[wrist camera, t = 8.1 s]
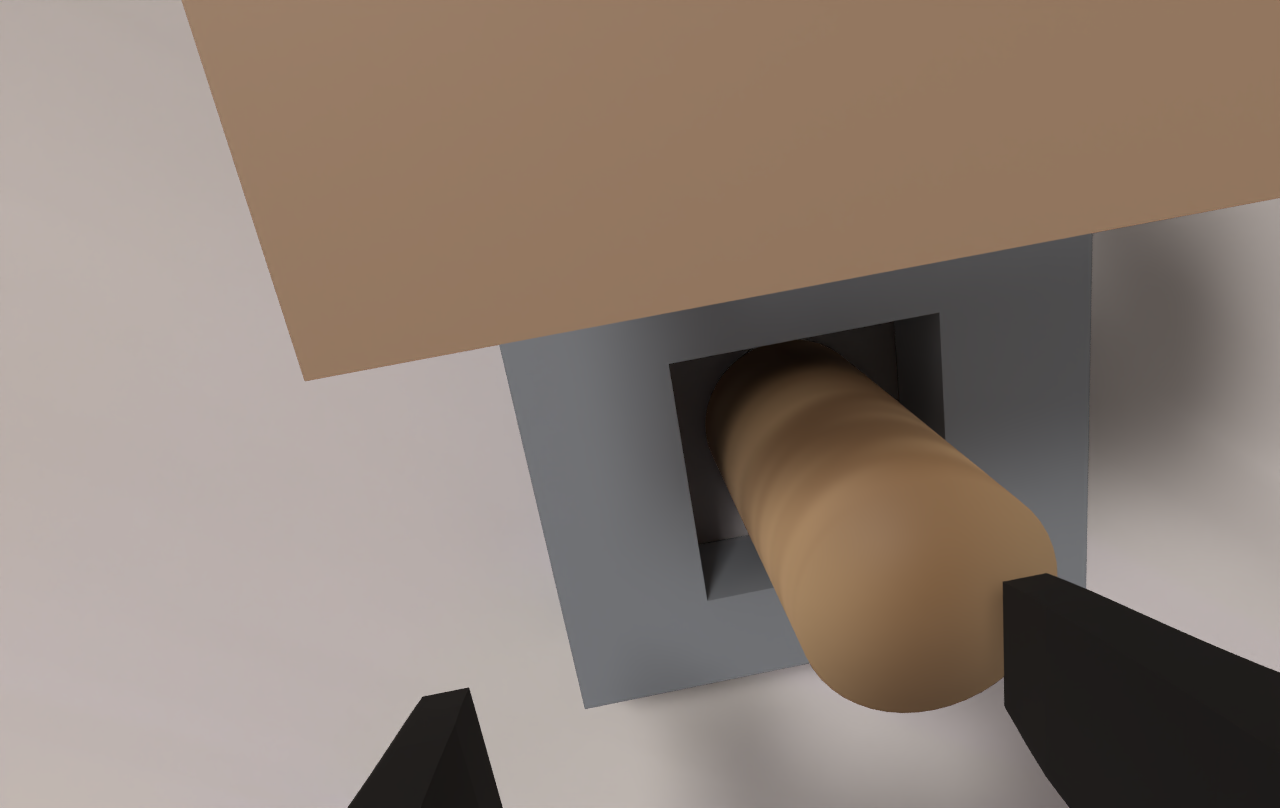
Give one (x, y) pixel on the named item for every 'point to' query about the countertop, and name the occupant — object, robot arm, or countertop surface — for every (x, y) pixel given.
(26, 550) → the countertop surface
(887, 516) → the peg
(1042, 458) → the socket plate
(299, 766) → the countertop surface
